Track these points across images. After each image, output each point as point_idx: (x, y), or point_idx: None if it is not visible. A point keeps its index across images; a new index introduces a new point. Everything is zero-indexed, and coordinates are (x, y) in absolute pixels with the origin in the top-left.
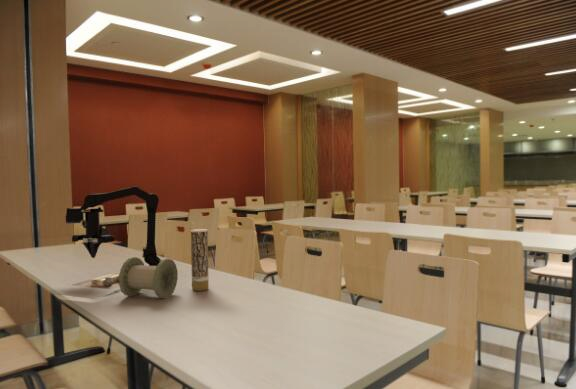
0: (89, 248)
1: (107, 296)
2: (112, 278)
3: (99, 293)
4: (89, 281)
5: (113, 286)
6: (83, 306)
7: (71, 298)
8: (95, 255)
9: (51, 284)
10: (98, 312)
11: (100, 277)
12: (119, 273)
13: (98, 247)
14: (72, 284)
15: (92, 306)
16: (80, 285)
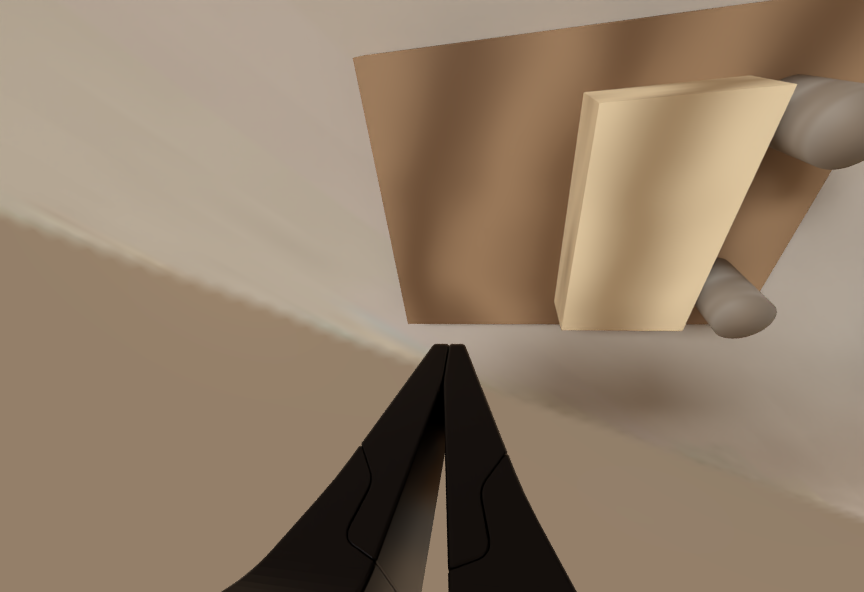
0: (420, 571)
1: (767, 366)
2: (723, 224)
3: (676, 338)
4: (440, 224)
5: (763, 279)
6: (714, 463)
7: (577, 413)
8: (472, 369)
9: (215, 279)
10: (825, 492)
11: (590, 261)
12: (811, 134)
13: (546, 536)
14: (406, 314)
15: (759, 460)
16: (478, 318)
